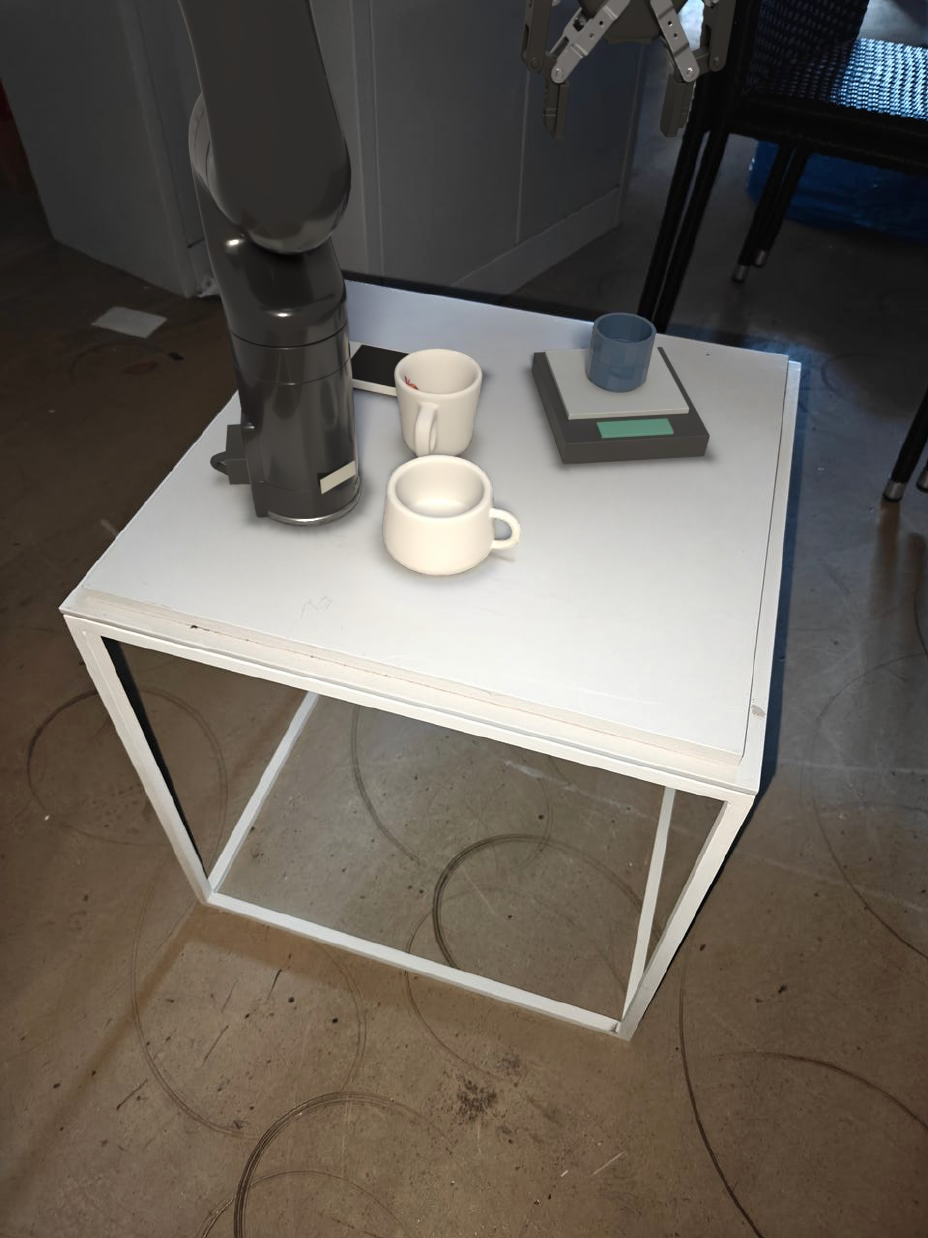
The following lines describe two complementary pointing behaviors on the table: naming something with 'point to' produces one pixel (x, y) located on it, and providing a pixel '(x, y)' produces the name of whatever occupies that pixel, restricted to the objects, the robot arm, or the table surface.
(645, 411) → the scale
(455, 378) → the cup
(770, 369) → the table surface
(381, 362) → the smartphone
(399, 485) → the mug
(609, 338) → the dark blue tumbler
